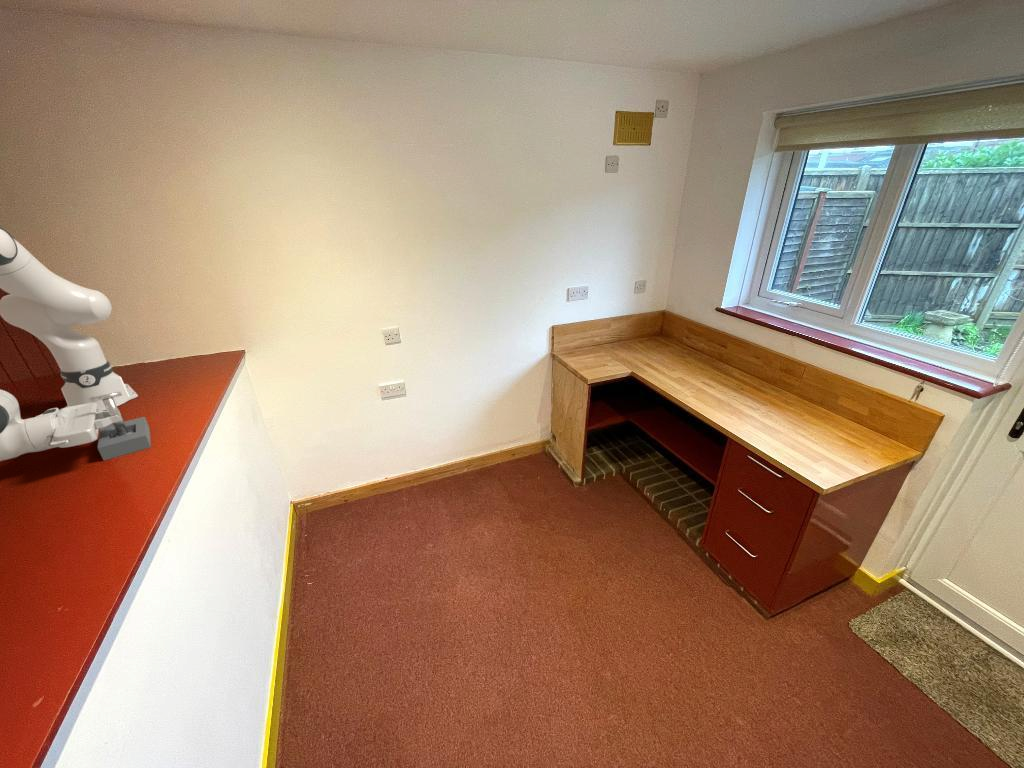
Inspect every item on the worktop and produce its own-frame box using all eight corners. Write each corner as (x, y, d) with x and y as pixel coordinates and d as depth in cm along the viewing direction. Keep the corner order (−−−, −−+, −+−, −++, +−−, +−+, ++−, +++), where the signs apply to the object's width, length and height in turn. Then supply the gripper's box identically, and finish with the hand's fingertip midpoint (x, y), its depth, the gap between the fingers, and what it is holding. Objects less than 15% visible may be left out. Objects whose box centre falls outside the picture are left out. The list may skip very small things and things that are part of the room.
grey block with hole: (105, 439, 122) (100, 427, 120) (149, 427, 127) (144, 416, 126) (103, 460, 112) (97, 448, 110) (150, 447, 118) (145, 435, 116)
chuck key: (109, 440, 118) (88, 395, 113) (139, 432, 122) (120, 389, 116) (108, 446, 115) (87, 401, 109) (139, 438, 119) (120, 394, 113)
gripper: (37, 437, 100) (113, 419, 108) (49, 406, 114) (116, 392, 122) (49, 459, 102) (123, 439, 110) (60, 426, 117) (124, 411, 125)
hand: (119, 414), depth 116 cm, fingers closed on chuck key, 2 cm apart
